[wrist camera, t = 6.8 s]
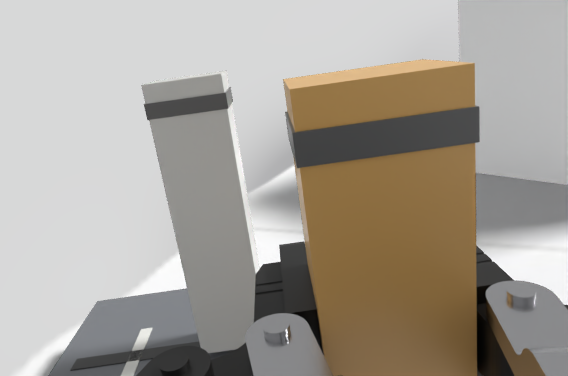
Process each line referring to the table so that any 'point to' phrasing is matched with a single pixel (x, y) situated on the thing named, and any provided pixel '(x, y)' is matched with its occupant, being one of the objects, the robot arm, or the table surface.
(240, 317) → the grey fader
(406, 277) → the amber fader
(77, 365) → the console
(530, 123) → the cube
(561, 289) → the table surface
